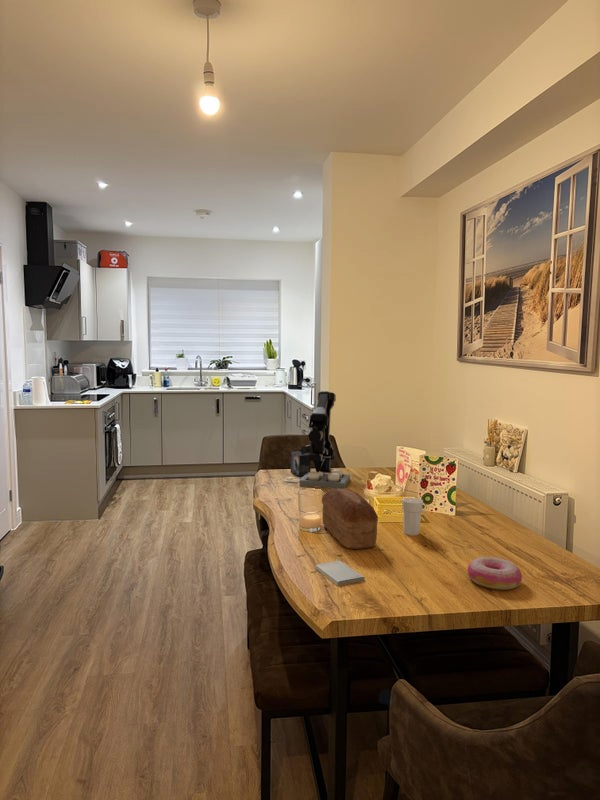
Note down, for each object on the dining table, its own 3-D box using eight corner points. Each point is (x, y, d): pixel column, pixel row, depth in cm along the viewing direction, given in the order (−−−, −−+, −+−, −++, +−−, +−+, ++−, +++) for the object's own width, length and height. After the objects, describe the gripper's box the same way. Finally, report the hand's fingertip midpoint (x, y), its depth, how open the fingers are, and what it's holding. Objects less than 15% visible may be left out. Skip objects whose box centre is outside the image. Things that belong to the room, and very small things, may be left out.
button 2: (313, 477, 258) (313, 471, 258) (323, 478, 257) (323, 471, 257) (311, 479, 253) (311, 473, 253) (321, 480, 252) (321, 474, 252)
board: (290, 475, 263) (290, 470, 263) (349, 479, 256) (349, 474, 256) (280, 484, 245) (281, 478, 245) (344, 488, 239) (344, 483, 239)
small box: (289, 472, 270) (289, 451, 269) (301, 471, 273) (301, 450, 272) (298, 477, 261) (298, 455, 260) (310, 475, 263) (311, 454, 263)
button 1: (309, 477, 249) (309, 471, 249) (320, 478, 248) (320, 472, 248) (307, 480, 245) (307, 473, 244) (318, 481, 243) (318, 474, 243)
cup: (398, 534, 180) (400, 501, 179) (404, 528, 186) (405, 496, 185) (418, 537, 177) (420, 504, 177) (423, 531, 183) (424, 499, 182)
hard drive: (364, 576, 143) (340, 559, 154) (337, 581, 140) (314, 564, 151) (364, 582, 143) (340, 565, 154) (337, 588, 140) (314, 570, 151)
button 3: (329, 479, 247) (329, 472, 247) (340, 479, 246) (340, 473, 246) (327, 481, 243) (327, 475, 242) (338, 482, 241) (338, 475, 241)
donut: (469, 568, 153) (470, 551, 152) (521, 576, 148) (522, 558, 147) (464, 587, 140) (465, 568, 140) (520, 597, 135) (522, 577, 135)
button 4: (332, 474, 256) (332, 468, 256) (342, 475, 255) (343, 469, 255) (330, 477, 251) (330, 470, 251) (341, 478, 250) (341, 471, 250)
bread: (350, 522, 193) (351, 482, 191) (382, 550, 166) (383, 503, 164) (317, 524, 190) (318, 483, 188) (344, 553, 163) (345, 505, 161)
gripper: (305, 435, 265) (305, 467, 266) (296, 441, 246) (296, 475, 248) (328, 436, 262) (327, 469, 263) (321, 442, 244) (320, 477, 245)
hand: (317, 472), depth 255 cm, fingers closed, pressing on button 2
